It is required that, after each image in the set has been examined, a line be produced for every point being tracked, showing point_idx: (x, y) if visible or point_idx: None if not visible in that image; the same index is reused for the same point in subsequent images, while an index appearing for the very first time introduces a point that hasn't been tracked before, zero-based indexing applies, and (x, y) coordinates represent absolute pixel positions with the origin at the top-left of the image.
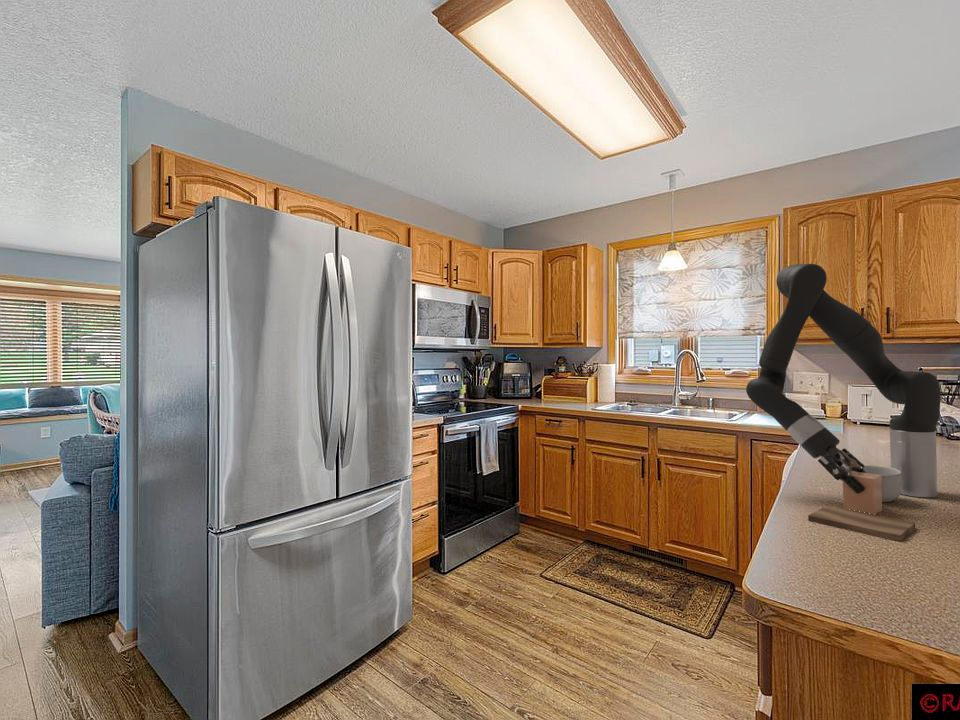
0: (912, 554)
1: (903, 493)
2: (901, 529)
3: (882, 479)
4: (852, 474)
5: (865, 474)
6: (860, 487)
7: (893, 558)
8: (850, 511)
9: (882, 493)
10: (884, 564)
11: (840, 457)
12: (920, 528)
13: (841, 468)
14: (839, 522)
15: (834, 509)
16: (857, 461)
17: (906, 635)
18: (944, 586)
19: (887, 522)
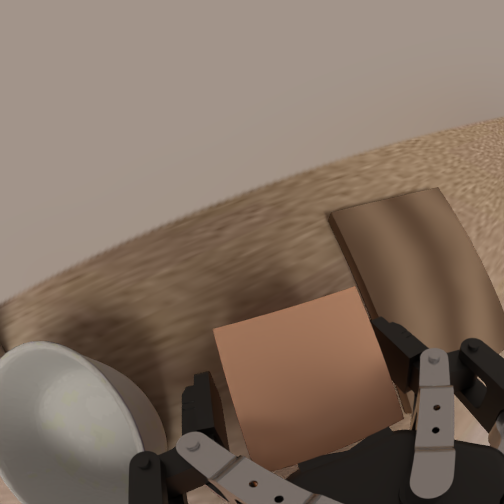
0: (452, 165)
1: None
2: (407, 201)
3: (117, 384)
4: (357, 403)
5: (282, 378)
6: (393, 324)
7: (482, 172)
8: None
9: (141, 390)
10: (500, 170)
11: (451, 447)
12: (315, 217)
13: (481, 365)
14: (489, 280)
15: None
16: (162, 489)
17: None
18: (475, 127)
19: (397, 238)
